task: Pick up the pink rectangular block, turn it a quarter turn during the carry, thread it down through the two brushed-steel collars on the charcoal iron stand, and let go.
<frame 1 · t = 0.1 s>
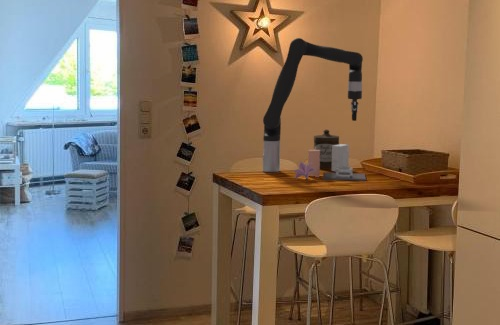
hand: (354, 120, 335), 29 cm above the table, fingers open, 8 cm apart
pink rectangular block: (313, 176, 330), on the table
labeled lidded canister: (325, 167, 360), on the table
skincare box: (339, 171, 346), on the table
collar stand: (344, 177, 326), on the table
lily: (304, 180, 319), on the table
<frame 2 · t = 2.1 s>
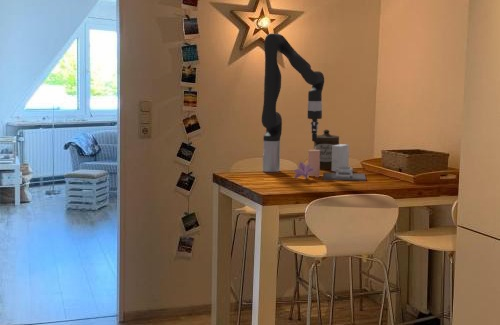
hand: (314, 140, 327), 19 cm above the table, fingers open, 8 cm apart
nothing on the table moved.
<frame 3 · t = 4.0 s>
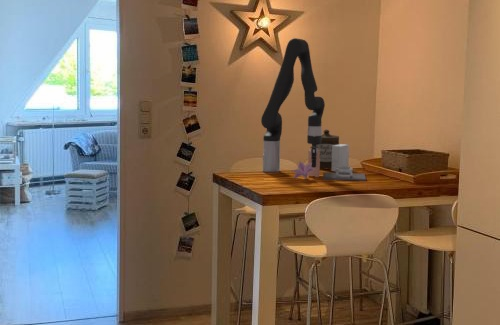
hand: (313, 166, 329), 5 cm above the table, fingers closed on pink rectangular block, 4 cm apart
pink rectangular block: (313, 176, 330), on the table, touching gripper
everything else where it was.
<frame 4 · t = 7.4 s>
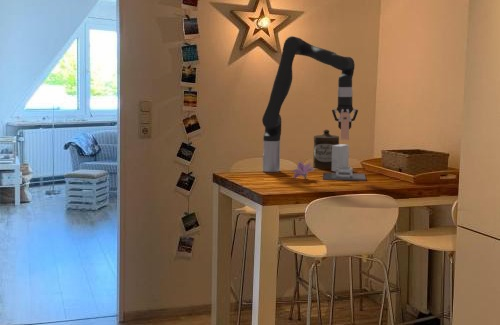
hand: (344, 128, 322), 26 cm above the table, fingers closed on pink rectangular block, 4 cm apart
pink rectangular block: (344, 138, 322), point 21 cm above the table, touching gripper
everything else where it was.
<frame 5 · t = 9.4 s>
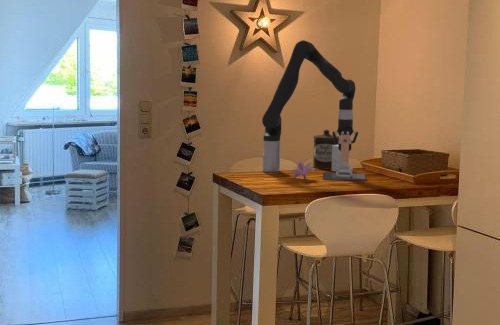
hand: (344, 150, 324), 14 cm above the table, fingers closed on pink rectangular block, 4 cm apart
pink rectangular block: (344, 160, 324), point 9 cm above the table, touching gripper
when the fingers open (7 cm above the table, at t = 11.2 s): pink rectangular block stays where it is, resting on collar stand.
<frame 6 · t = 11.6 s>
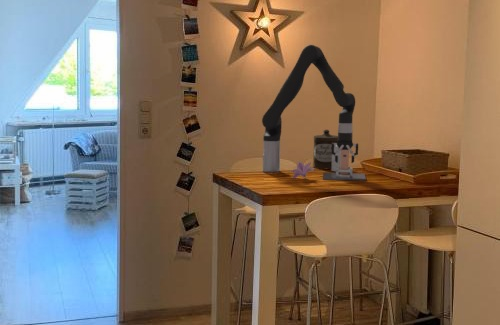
hand: (344, 162, 324), 8 cm above the table, fingers open, 7 cm apart
pink rectangular block: (344, 175, 325), point 1 cm above the table, touching collar stand
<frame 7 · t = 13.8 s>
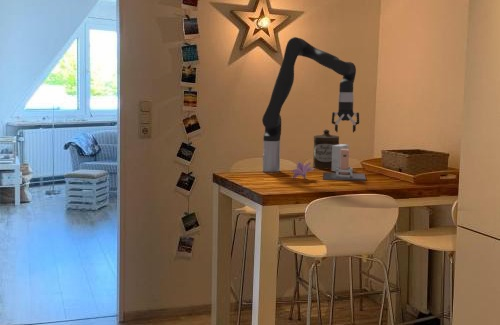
hand: (345, 132, 322), 24 cm above the table, fingers open, 8 cm apart
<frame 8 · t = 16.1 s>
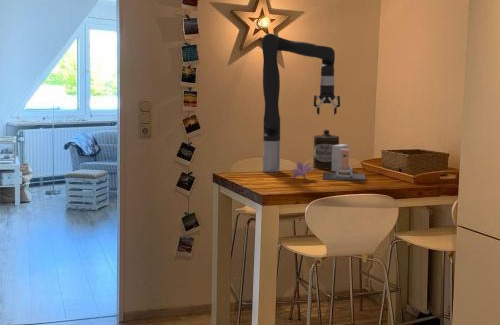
hand: (326, 114, 335), 32 cm above the table, fingers open, 8 cm apart
at the end: pink rectangular block 0.0 cm off-centre on the collar stand, point 1.0 cm above the collar stand's base; pink rectangular block tilted 0°; the gripper is holding nothing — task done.
